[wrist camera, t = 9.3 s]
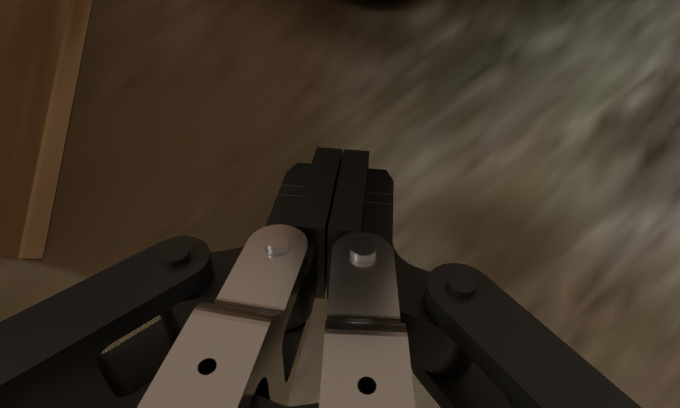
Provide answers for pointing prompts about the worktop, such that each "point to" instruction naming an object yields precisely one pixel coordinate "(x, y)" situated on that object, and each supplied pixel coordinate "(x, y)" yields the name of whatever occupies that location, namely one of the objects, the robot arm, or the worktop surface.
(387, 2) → the supplement bottle
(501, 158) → the worktop surface
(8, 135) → the oak screen
